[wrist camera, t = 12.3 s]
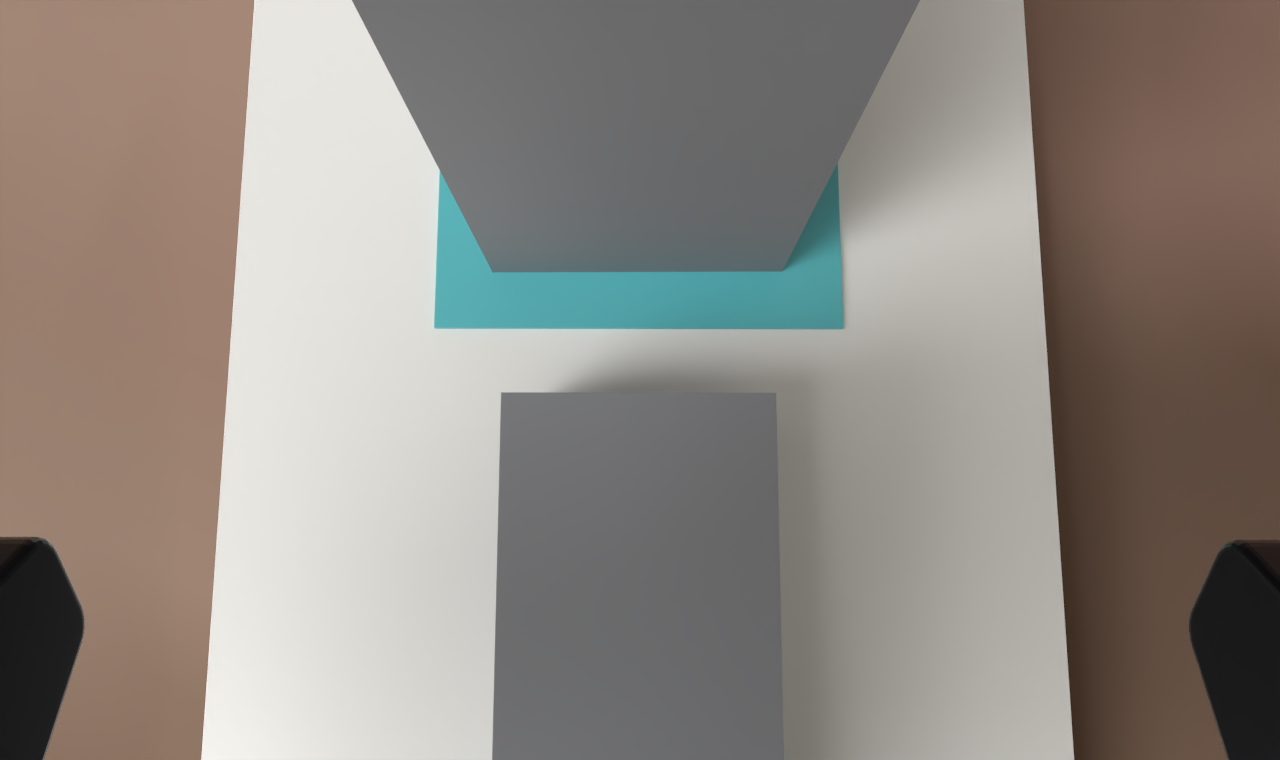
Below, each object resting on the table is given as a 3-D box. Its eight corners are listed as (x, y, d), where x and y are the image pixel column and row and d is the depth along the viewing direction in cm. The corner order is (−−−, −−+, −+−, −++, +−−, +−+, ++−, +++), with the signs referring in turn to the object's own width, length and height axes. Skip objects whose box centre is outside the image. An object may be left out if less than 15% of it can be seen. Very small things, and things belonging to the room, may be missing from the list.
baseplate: (1075, 1170, 16) (1193, 1335, 13) (198, 1169, 16) (79, 1335, 13) (997, -84, 20) (1071, -218, 17) (281, -86, 20) (206, -219, 17)
